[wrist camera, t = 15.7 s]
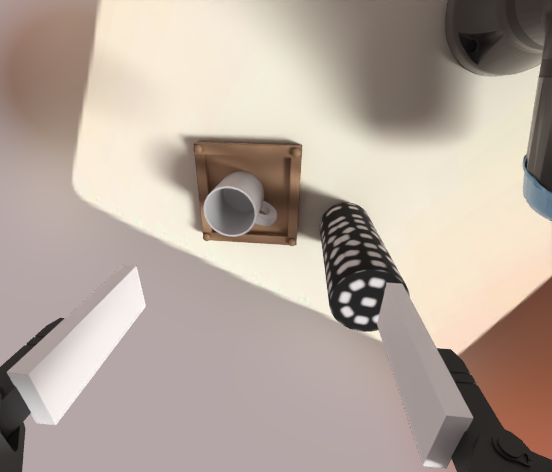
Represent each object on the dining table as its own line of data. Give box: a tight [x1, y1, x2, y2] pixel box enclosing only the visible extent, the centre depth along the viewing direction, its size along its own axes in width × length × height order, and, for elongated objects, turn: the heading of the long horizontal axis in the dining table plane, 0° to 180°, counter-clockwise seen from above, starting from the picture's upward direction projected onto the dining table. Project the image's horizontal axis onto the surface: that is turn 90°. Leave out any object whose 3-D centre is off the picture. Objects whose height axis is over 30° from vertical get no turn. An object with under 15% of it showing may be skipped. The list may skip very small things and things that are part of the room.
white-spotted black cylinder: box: [320, 203, 410, 332], centre depth 39 cm, size 8×8×20 cm
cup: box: [203, 171, 277, 237], centre depth 42 cm, size 7×10×9 cm
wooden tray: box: [194, 141, 302, 246], centre depth 46 cm, size 16×16×3 cm
